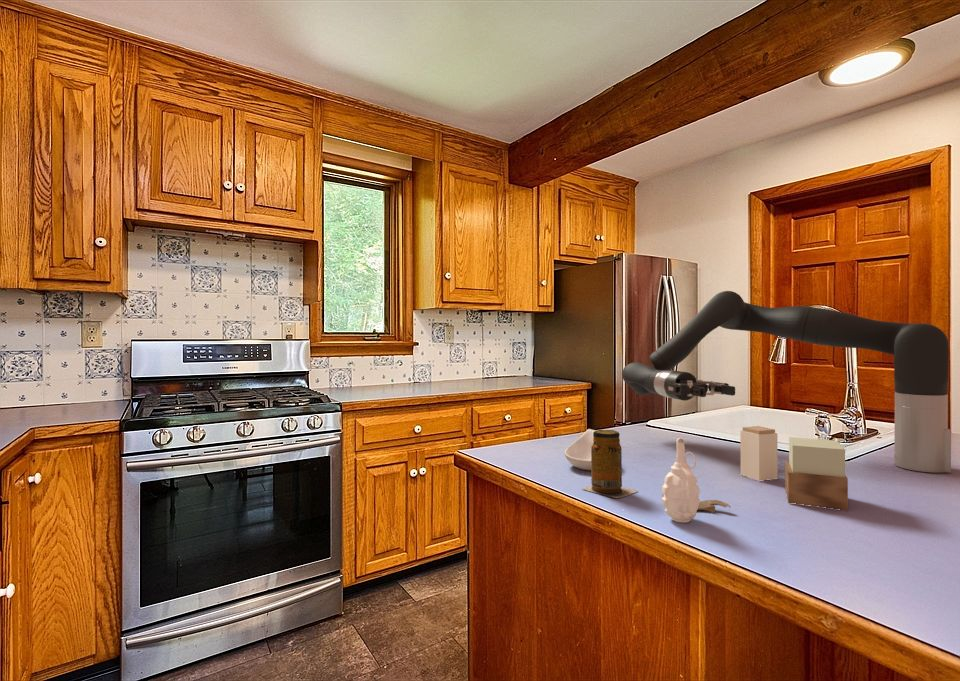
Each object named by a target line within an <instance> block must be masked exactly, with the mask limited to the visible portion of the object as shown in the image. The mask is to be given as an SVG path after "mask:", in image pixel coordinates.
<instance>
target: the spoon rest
mask: <svg viewBox="0 0 960 681" xmlns="http://www.w3.org/2000/svg"><path fill="white" fill-rule="evenodd" d="M596 430H597V429H596ZM596 430H595V429H591V428H588V429H586V431H584V433H583V434H582V435H581V436H579V437H578V438H577V439H576V440H575V441H573V442H572V443H571V444H569V446H567V448H566V449H565V450H564V453H563V454H564V456H565V458H566V460H567V461H568V463H570V465H572V466H573V467H575V468H577V469H579V470H583V471H591V446H592V444H593V442H594V441H593V433H594V431H596Z"/></svg>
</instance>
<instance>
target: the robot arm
mask: <svg viewBox="0 0 960 681" xmlns="http://www.w3.org/2000/svg"><path fill="white" fill-rule="evenodd" d="M718 327H720V328H723V329H726V330H733V331H734V330H736V331H746V332H756V333H761V334H762V333H764V334H768V335H772V336H775V337H780V338H784V339H789V340H794V341H798V342H804V343H809V344H813V345H819V346H827V347H833V348H834V347H836V348H846V349H847V348H848V349H849V348H851V349H862V350H863V349H864V350H870V351H876V352H880V353H884V354H888V355H892V356H893V367H894V369H893V372H894V373H893V380H894V454H893V459H894V462H893V463H894V465H895V466H897V467H898V468H902V469H905V470H911V471H916V472H923V473H933V474H934V473H952V429H950V428H948V427H949V426H948V422H949V421H948V420H949V417H948V416H949V415H948V412H949V411H948V410H949V408H948V406H949V405H948V404H949V402H948V401H949V400H948V398H949V395H948V394H949V391H948V390H949V366H950V365H949V364H950V363H949V360H950V359H949V353H950V352H949V351H950V349H949V348H950V346H949V345H950V344H949V343H950V342H949V339H948V336H947V334H946V333H945V332H944V331H943V330H942V329H941V328H939V327H937V326H935V325H934V324H933V325H932V324H930V323H923V322H922V323H910V322H893V321H885V320H884V321H883V320H876V319H871V318H865V317H862V316H860V315H856V314H851V313H848V312H842V311H838V310H833V309H830V308H828V309H827V308H822V307H816V306H807V305H805V306H804V305H802V306H801V305H794V306H793V305H792V306H782V307H781V306H780V307H768V306H762V305H757V304H752V303H748V302H745V301H744V299H743V297H742V296H741V295H740V294H739V293H737V292H735V291H732V290H725V291H724V290H723V291H720V292H718V293H716V294H715V295H714V296H712V298H711V299H710V300H708V302H707V303H706V304H705V305H704V306H703V307H702V308H701V310H700V311H699V312H698V313H697V314H696V315H695V316H693V318H692V319H691V320H690V321H689V322H688V323H687V324H686V325H684V326H683V327H682V328H681V329H680V330H679V331H678V332H677V333H676V334H675V335H673V336H671V338H669V339H668V340H667V341H666V342H664V343H663V344H662V345H661V346H660V347H658V348H656V349H655V351H653V352H652V353H651V354H650V355H649V361H650V363H651V365H652V366H650V365H648V364H646V363H642V362H637V361H635V362H634V361H633V362H630V363H629V364H627V365H625V366H624V368H623V369H622V372H621V377H622V380H623V381H624V382H625V383H626V384H627V385H628V386H629V387H630V388H631V389H632V390H633V391H634V393H636V395H638V396H643V397H644V396H647V395H650V394H654V395H659V396H662V397H664V398H669V399H674V400H679V401H682V402H683V401H684V402H687V401H690V400H691V399H693V398H694V397H700V398H705V397H707V396H714V395H716V394H717V395H727V396H735V395H736V387H735V386H732V385H730V384H729V383H728V382H719V381H718V382H717V381H712V380H711V381H709V380H703V379H697V378H696V376H695V375H694V374H693V373H691V372H687V371H680V370H673V368H675V367H677V365H679V364H680V363H681V362H683V361H684V360H685V359H687V357H688V356H689V355H690V354H691V353H692V352H693V351H694V349H695V348H696V347H697V346H698V345H699V343H700V342H701V341H702V340H703V339H704V338H705V337H706V336H707V335H708V334H710V333H711V332H712V331H714V330H715V329H717V328H718Z"/></svg>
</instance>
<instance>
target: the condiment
mask: <svg viewBox="0 0 960 681" xmlns="http://www.w3.org/2000/svg"><path fill="white" fill-rule="evenodd" d="M620 436H621V435H620V432H619V431H616V430H613V429H596V431H594V433H593V441H594V442H593V444H592V446H591V470H590V471H591V473H590V474H591V475H590V476H591V479H590V480H591V485H590V486H586V487H582V490H585V491H588V492H591V493H595V494H599V495H603V496H605V497H609V498H614V499H620V498H623V497H627V496H630V495H632V494H635V493H637V492H638V490H635V489H631V488H629V487H628V488H627V487H624V486H623V477H622V476H623V471H622V470H623V468H622V467H623V466H622V465H623V464H622V460H623V459H622V457H623V456H622V450H623V449H622V445H621V440H620Z"/></svg>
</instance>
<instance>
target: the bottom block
mask: <svg viewBox="0 0 960 681" xmlns="http://www.w3.org/2000/svg"><path fill="white" fill-rule="evenodd" d="M848 482H849V478H848V476H847V475H846V474H845V477H836V476H826V475H816V474H806V473H796V472H792V469H791V466H790V463H789V460H788V461H786V460H785V461H784V491H785V490H786V491H785V494H787V496H786V499H788V500H787V503H796V504H804V505H811V506H819V507H826V508H833V509H840V510H839V511H841V510H847V511H846V512H848V510H849V505H848V504H849V503H848V501H849V500H848V499H849V497H848V495H849V494H848V491H849V486H848V485H849V483H848ZM833 509H832V510H833Z"/></svg>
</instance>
